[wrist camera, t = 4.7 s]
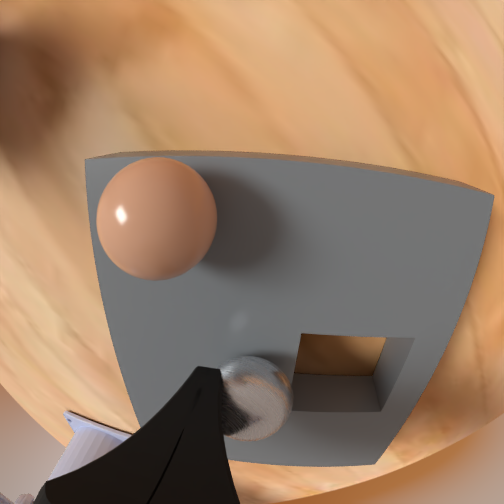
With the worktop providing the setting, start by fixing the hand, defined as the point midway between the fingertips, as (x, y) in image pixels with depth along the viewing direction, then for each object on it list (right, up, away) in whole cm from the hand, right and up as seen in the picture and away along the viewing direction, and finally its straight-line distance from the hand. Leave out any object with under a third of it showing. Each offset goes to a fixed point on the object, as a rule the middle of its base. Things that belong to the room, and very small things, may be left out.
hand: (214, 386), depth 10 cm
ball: (-1, +6, -1) cm, 6 cm away
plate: (+3, +1, +3) cm, 4 cm away
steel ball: (0, -1, -1) cm, 2 cm away
